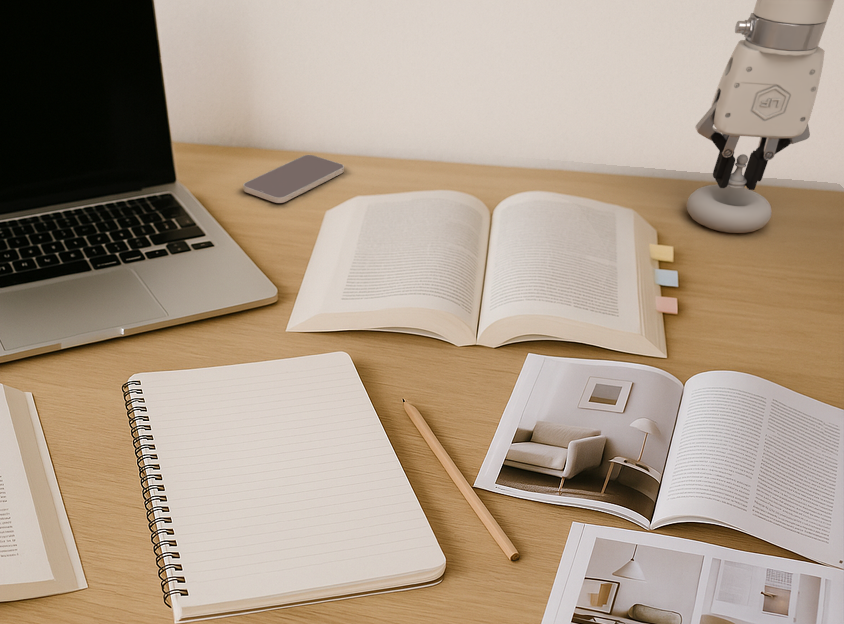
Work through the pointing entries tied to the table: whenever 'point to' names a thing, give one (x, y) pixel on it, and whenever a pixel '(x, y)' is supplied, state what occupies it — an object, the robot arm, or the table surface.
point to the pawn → (738, 173)
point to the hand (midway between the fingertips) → (734, 183)
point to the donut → (729, 209)
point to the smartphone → (293, 178)
